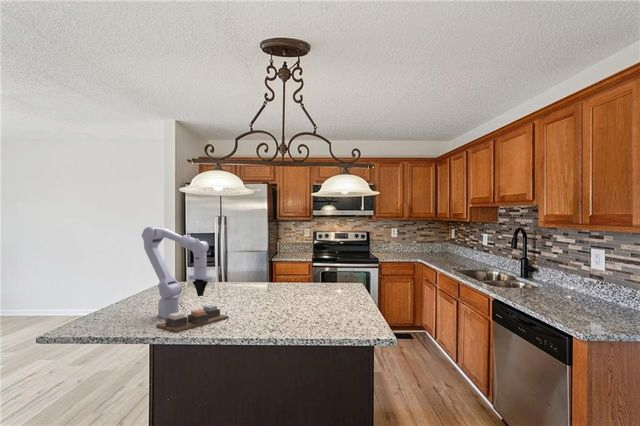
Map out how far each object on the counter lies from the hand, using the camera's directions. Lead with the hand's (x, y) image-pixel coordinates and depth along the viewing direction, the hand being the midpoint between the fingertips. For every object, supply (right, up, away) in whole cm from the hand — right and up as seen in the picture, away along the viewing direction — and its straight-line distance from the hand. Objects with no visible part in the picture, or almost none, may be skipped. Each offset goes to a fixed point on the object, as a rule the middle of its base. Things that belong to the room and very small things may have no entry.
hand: (200, 295), depth 179 cm
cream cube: (-6, -8, -15) cm, 18 cm away
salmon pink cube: (+2, -8, -9) cm, 12 cm away
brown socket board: (-1, -10, -7) cm, 13 cm away
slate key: (+5, -8, 0) cm, 10 cm away
